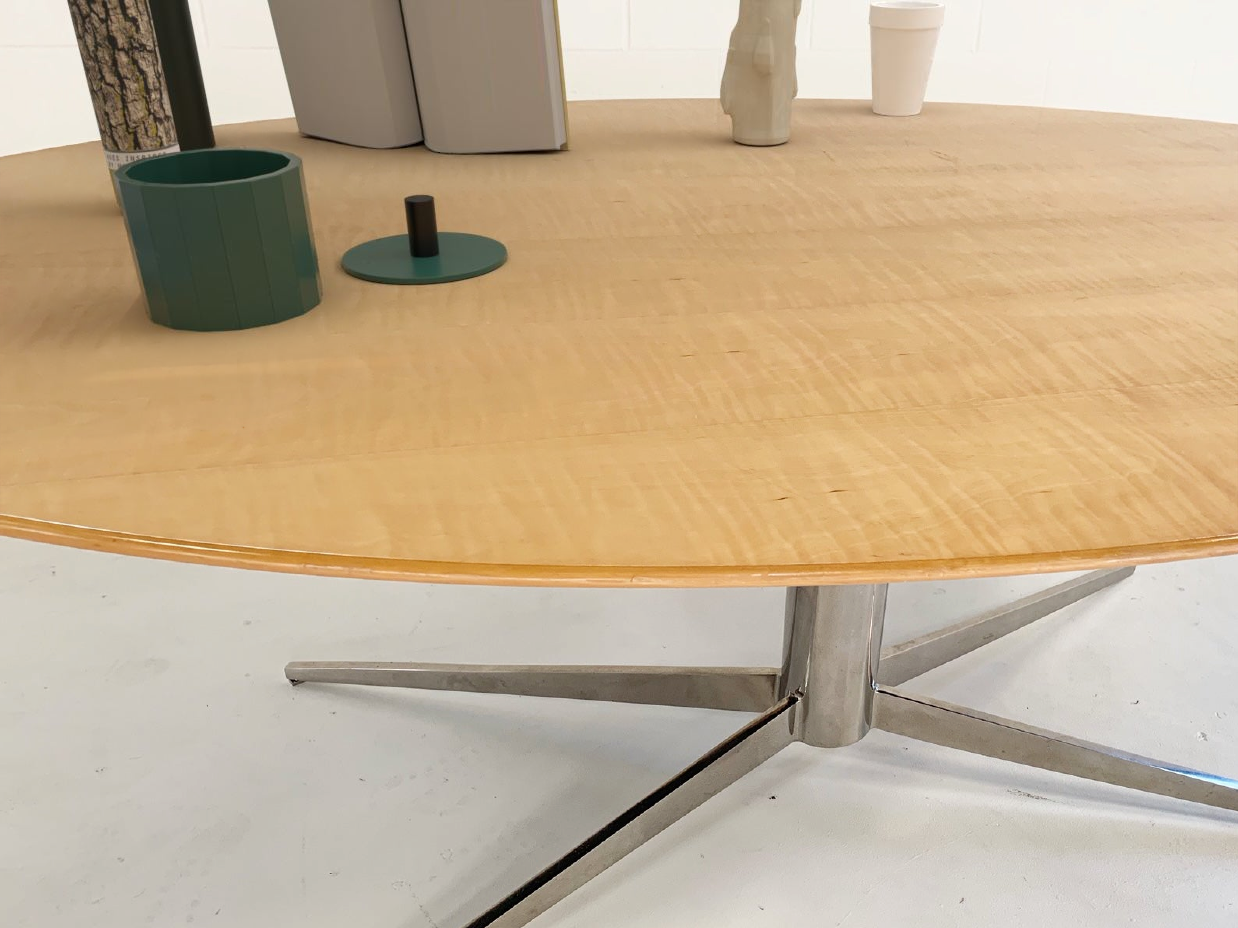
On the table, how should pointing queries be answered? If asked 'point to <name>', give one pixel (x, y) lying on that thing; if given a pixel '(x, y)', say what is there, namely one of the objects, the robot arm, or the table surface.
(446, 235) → the lid
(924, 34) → the foam cup
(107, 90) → the brown tall cylinder
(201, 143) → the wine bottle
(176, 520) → the table surface
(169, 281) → the pot
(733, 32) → the vase
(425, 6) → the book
